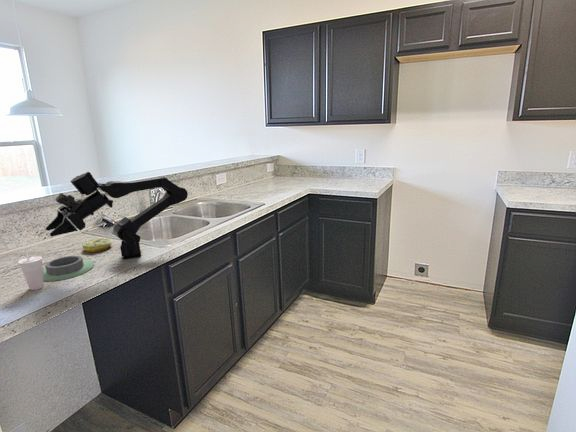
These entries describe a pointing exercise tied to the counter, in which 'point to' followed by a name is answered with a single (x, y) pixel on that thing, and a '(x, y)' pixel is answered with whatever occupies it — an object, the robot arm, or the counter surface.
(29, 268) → the smoothie
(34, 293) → the counter surface
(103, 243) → the decorated donut
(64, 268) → the putting green cup
